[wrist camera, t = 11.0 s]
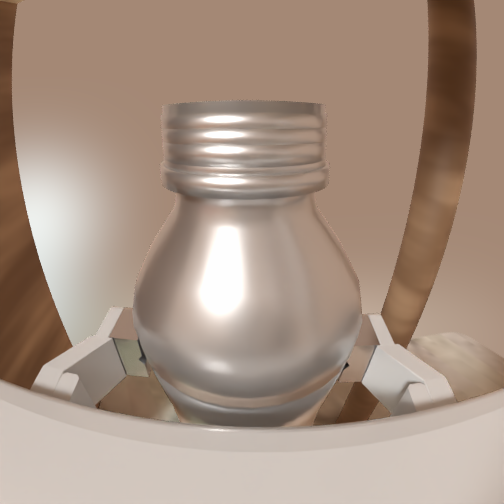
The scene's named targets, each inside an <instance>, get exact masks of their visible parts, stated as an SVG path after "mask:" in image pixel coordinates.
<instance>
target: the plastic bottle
mask: <svg viewBox="0 0 504 504" xmlns="http://www.w3.org/2000/svg"><path fill="white" fill-rule="evenodd" d="M162 111H163V114H161V127H162V142H163V156H164V161H162V162H161V164H160V173H161V182H162V185H163V187H165V188H166V189H168V190H170V191H173V192H175V193H176V195H175V206H174V208H173V210H172V211H171V213H170V215H169V216H168V218H167V219H166V221H165V222H164V224H163V226H162V227H161V229H160V231H159V232H158V234H157V236H156V237H155V239H154V240H153V242H152V244H151V246H150V248H149V250H148V253H147V255H146V257H145V260H144V262H143V265H142V266H141V269H140V271H139V274H138V277H137V280H136V284H135V292H134V303H133V324H134V328H135V331H136V333H137V336H138V338H139V341H140V344H141V347H142V349H143V351H144V354H145V356H146V358H147V360H148V362H149V364H150V365H151V367H152V369H153V371H154V373H155V375H156V377H157V379H158V380H159V382H160V384H161V386H162V388H163V389H164V391H165V393H166V395H167V396H168V398H169V400H170V401H171V403H172V405H173V407H174V409H175V412H176V414H177V416H178V419H179V421H180V423H190V424H201V425H214V426H233V427H298V426H312V425H313V422H314V420H315V418H316V416H317V413H318V411H319V409H320V407H321V406H322V404H323V402H324V401H325V399H326V397H327V396H328V394H329V392H330V391H331V389H332V387H333V385H334V384H335V382H336V380H337V379H338V377H339V375H340V373H341V371H342V370H343V368H344V366H345V364H346V362H347V360H348V359H349V357H350V355H351V352H352V350H353V347H354V345H355V342H356V340H357V337H358V335H359V331H360V328H361V324H362V309H361V297H360V287H359V280H358V277H357V275H356V273H355V271H354V269H353V267H352V265H351V262H350V260H349V258H348V256H347V254H346V252H345V250H344V248H343V246H342V244H341V242H340V240H339V239H338V237H337V236H336V234H335V232H334V231H333V230H332V228H331V226H330V225H329V223H328V222H327V220H326V219H325V217H324V216H323V214H322V213H321V211H320V210H319V209H318V207H317V205H316V196H315V192H317V191H320V190H322V189H324V188H325V187H326V186H327V185H328V184H329V167H330V166H329V165H330V164H329V162H328V161H327V160H325V157H326V132H327V130H326V129H327V114H326V113H325V104H316V103H305V102H290V101H289V102H288V101H262V100H241V101H240V100H239V101H237V100H236V101H208V102H207V101H206V102H190V103H179V104H169V105H163V106H162Z"/></svg>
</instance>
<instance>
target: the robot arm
mask: <svg viewBox="0 0 504 504" xmlns="http://www.w3.org/2000/svg"><path fill="white" fill-rule="evenodd" d="M151 368H152V367H151V365H150V364H149V362H148V360H147V358H146V356H145V354H144V351H143V349H142V347H141V344H140V341H139V338H138V336H137V333H136V331H135V328H134V324H133V308H128V307H117V306H113V307H111V308H110V309H109V311H108V313H107V315H106V317H105V318H104V320H103V322H102V324H101V326H100V327H99V329H98V331H97V333H96V335H95V336H93V335H92V336H90V337H88V338H86V339H85V340H83V341H82V342H80V343H78V344H77V345H75V346H74V347H72V348H70V349H69V350H67V351H66V352H64V353H62V354H61V355H59V356H58V357H56V358H54V359H53V360H51V361H50V362H48V363H46V364H45V365H43V367H42V369H41V370H40V372H39V374H38V376H37V378H36V379H35V381H34V383H33V385H32V387H31V389H30V390H29V389H26V388H24V387H21V386H18V385H15V384H12V383H10V382H7V381H5V380H2V379H0V504H504V388H502V389H499V390H496V391H493V392H490V393H487V394H484V395H481V396H477V397H474V398H471V399H467V400H464V401H460V402H457V400H456V398H455V395H454V393H453V391H452V389H451V387H450V385H449V383H448V381H447V379H446V377H445V376H443V375H442V374H441V373H439V372H438V371H436V370H435V369H433V368H432V367H431V366H429V365H428V364H426V363H425V362H424V361H422V360H421V359H419V358H418V357H416V356H415V355H414V354H412V353H411V352H409V351H408V350H406V349H405V348H404V347H402V346H401V345H399V344H395V343H394V341H393V339H392V337H391V335H390V333H389V331H388V328H387V326H386V324H385V322H384V320H383V318H382V316H381V315H380V314H379V313H373V314H362V324H361V328H360V331H359V335H358V337H357V340H356V342H355V345H354V347H353V350H352V352H351V355H350V357H349V359H348V360H347V362H346V364H345V366H344V368H343V370H342V371H341V373H340V375H339V377H338V381H339V383H342V382H360V381H362V384H363V385H364V386H365V387H366V388H367V389H368V390H369V391H370V392H371V393H372V394H373V395H374V396H375V397H376V398H377V399H378V400H379V401H380V402H381V403H382V404H383V405H384V406H385V407H386V408H387V409H388V410H389V412H390V413H391V415H390V416H389V417H387V418H380V419H374V420H366V421H358V422H350V423H340V424H330V425H316V426H298V427H233V426H214V425H201V424H190V423H180V422H172V421H164V420H157V419H150V418H143V417H137V416H131V415H126V414H121V413H115V412H111V411H106V410H101V409H97V408H96V406H95V405H96V404H97V403H98V402H99V401H100V400H101V399H102V398H103V397H104V396H106V395H107V394H108V393H109V392H110V391H111V390H112V389H113V388H114V387H115V386H116V385H117V384H118V383H120V382H121V381H122V380H123V379H124V378H125V377H126V375H133V376H142V377H149V375H150V372H151Z"/></svg>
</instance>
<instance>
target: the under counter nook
mask: <svg viewBox="0 0 504 504" xmlns="http://www.w3.org/2000/svg"><path fill="white" fill-rule="evenodd" d="M21 1H24V0H0V379H2V380H5V381H7V382H10V383H12V384H15V385H18V386H21V387H24V388H26V389H29V390H30V389H31V387H32V385H33V383H34V381H35V379H36V378H37V376H38V374H39V372H40V370H41V369H42V367H43V365H45V364H46V363H48V362H50V361H51V360H53V359H54V358H56V357H58V356H59V355H61V354H62V353H64V352H66V351H67V350H69V349H70V348H72V347H73V346H72V344H71V342H70V340H69V337H68V335H67V333H66V330H65V328H64V326H63V323H62V321H61V319H60V316H59V313H58V311H57V308H56V306H55V303H54V301H53V298H52V295H51V292H50V290H49V287H48V284H47V282H46V279H45V275H44V272H43V269H42V266H41V263H40V260H39V256H38V253H37V249H36V246H35V243H34V239H33V236H32V231H31V227H30V223H29V219H28V215H27V211H26V206H25V201H24V196H23V191H22V186H21V180H20V174H19V168H18V161H17V154H16V147H15V136H14V125H13V113H12V112H13V111H12V49H13V35H14V24H15V16H16V9H17V4H18V3H19V2H21ZM428 24H429V25H428V27H429V53H428V54H429V55H428V56H429V57H428V80H427V95H426V107H425V118H424V126H423V134H422V142H421V149H420V156H419V162H418V168H417V174H416V180H415V186H414V191H413V195H412V200H411V205H410V210H409V214H408V219H407V223H406V228H405V232H404V236H403V240H402V244H401V248H400V252H399V255H398V259H397V263H396V266H395V270H394V273H393V276H392V280H391V283H390V286H389V290H388V293H387V296H386V299H385V302H384V305H383V308H382V311H381V314H380V315H381V316H382V318H383V320H384V322H385V324H386V326H387V328H388V331H389V333H390V335H391V337H392V339H393V341H394V343H395V344H399V345H401V346H402V347H404V348H405V349H406V348H407V346H408V344H409V342H410V340H411V338H412V335H413V333H414V331H415V329H416V326H417V324H418V322H419V319H420V317H421V315H422V312H423V310H424V307H425V305H426V302H427V300H428V297H429V294H430V292H431V289H432V286H433V284H434V281H435V278H436V276H437V273H438V270H439V267H440V264H441V260H442V258H443V255H444V252H445V249H446V245H447V242H448V239H449V235H450V232H451V228H452V225H453V221H454V217H455V213H456V209H457V205H458V201H459V196H460V193H461V188H462V183H463V179H464V173H465V168H466V162H467V157H468V151H469V145H470V138H471V130H472V122H473V113H474V102H475V88H476V59H477V54H476V53H477V51H476V50H477V49H476V21H475V7H474V0H428ZM100 402H101V400H100V401H99V402H98V403H97V404H96V405H95V406H96V408H97V409H98V407H99V404H100ZM378 402H379V400H378V399H377V398H376V397H375V396H374V395H373V394H372V393H371V392H370V391H369V390H368V389H367V388H366V387H365V386H364V385H363V384H362V381H360V382H354V384H353V387H352V389H351V391H350V393H349V396H348V398H347V400H346V402H345V404H344V407H343V409H342V411H341V413H340V415H339V417H338V419H337V421H336V423H335V424H340V423H350V422H358V421H366V420H368V419H369V417H370V415H371V414H372V412H373V410H374V409H375V407H376V405H377V403H378Z"/></svg>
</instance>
